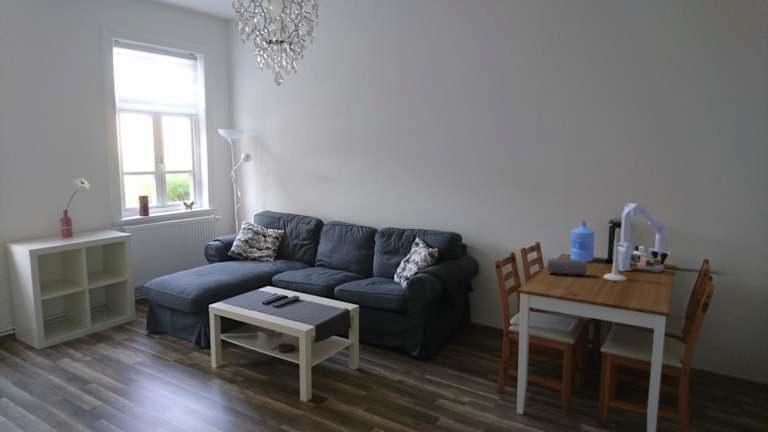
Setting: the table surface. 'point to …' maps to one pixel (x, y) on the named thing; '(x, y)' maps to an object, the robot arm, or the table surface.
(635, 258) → the medicine bottle
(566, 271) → the bluetooth speaker
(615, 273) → the candlestick
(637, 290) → the table surface
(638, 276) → the table surface
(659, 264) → the tan matte cube
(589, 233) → the water jug
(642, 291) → the table surface
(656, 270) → the grey rimmed tray
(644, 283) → the table surface
